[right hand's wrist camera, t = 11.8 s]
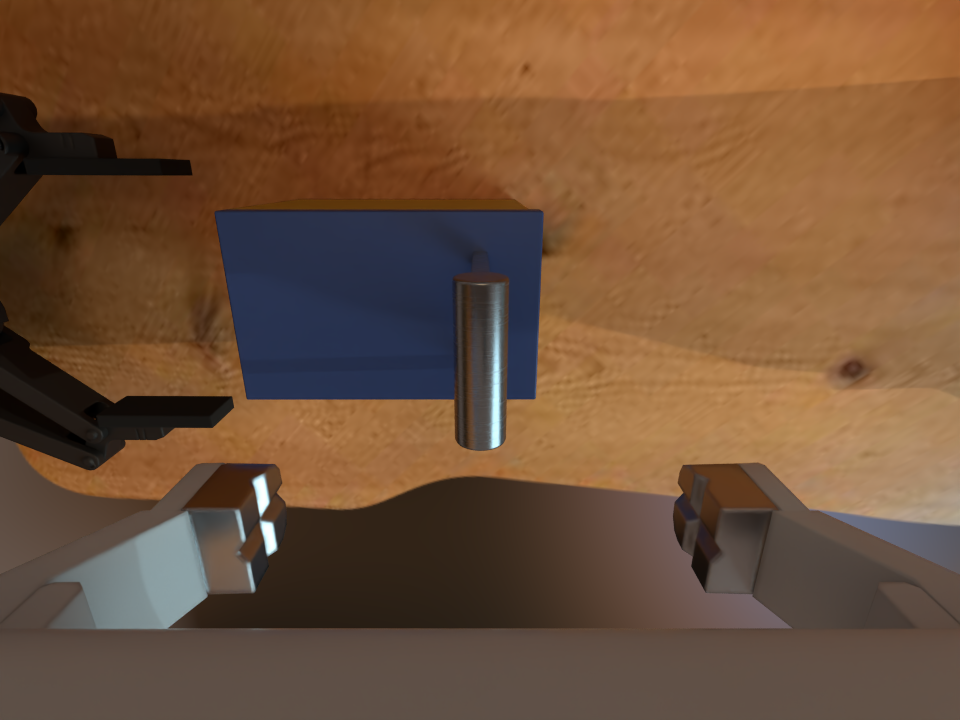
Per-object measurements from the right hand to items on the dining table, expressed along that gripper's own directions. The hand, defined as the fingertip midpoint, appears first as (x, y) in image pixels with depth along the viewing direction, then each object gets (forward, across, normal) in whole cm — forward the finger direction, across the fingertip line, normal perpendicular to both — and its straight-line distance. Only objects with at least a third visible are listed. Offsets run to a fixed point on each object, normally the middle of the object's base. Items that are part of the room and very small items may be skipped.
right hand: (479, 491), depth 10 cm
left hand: (+18, +15, 0) cm, 24 cm away
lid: (+15, +4, 0) cm, 16 cm away
